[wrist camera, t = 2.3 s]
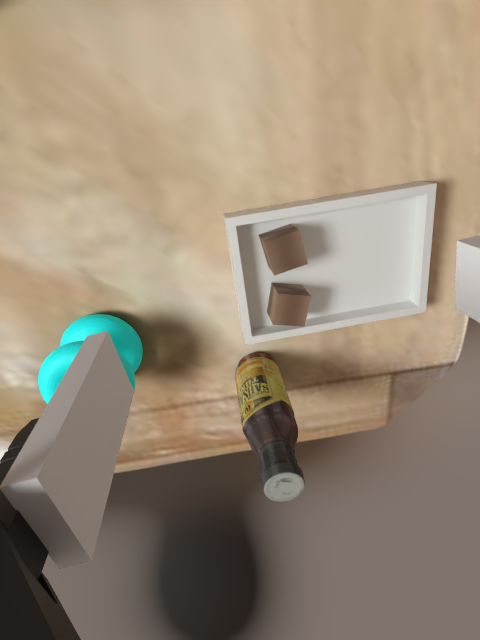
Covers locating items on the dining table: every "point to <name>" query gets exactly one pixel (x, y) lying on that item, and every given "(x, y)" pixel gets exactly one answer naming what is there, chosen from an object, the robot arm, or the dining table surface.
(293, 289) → the walnut block
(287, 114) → the dining table surface
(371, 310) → the tray
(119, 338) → the donuts
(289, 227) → the walnut block
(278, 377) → the sauce bottle
